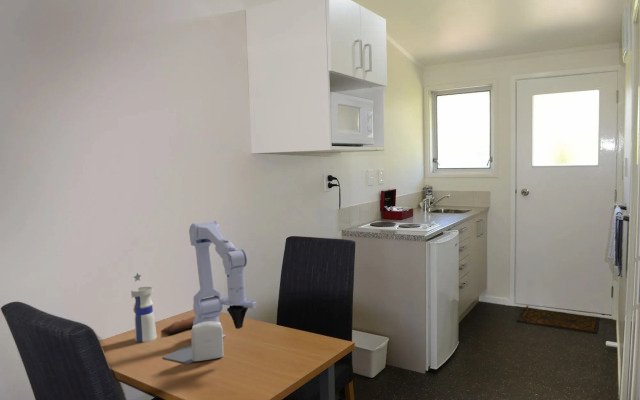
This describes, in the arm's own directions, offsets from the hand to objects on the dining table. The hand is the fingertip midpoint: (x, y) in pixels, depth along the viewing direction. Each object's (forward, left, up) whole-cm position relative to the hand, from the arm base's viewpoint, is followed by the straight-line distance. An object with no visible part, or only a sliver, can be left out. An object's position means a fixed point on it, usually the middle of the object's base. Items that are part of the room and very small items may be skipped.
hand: (239, 327), depth 155 cm
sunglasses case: (-42, +16, -11) cm, 47 cm away
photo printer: (-11, -5, -10) cm, 15 cm away
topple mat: (-19, -5, -10) cm, 22 cm away
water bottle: (-47, 0, -11) cm, 49 cm away
